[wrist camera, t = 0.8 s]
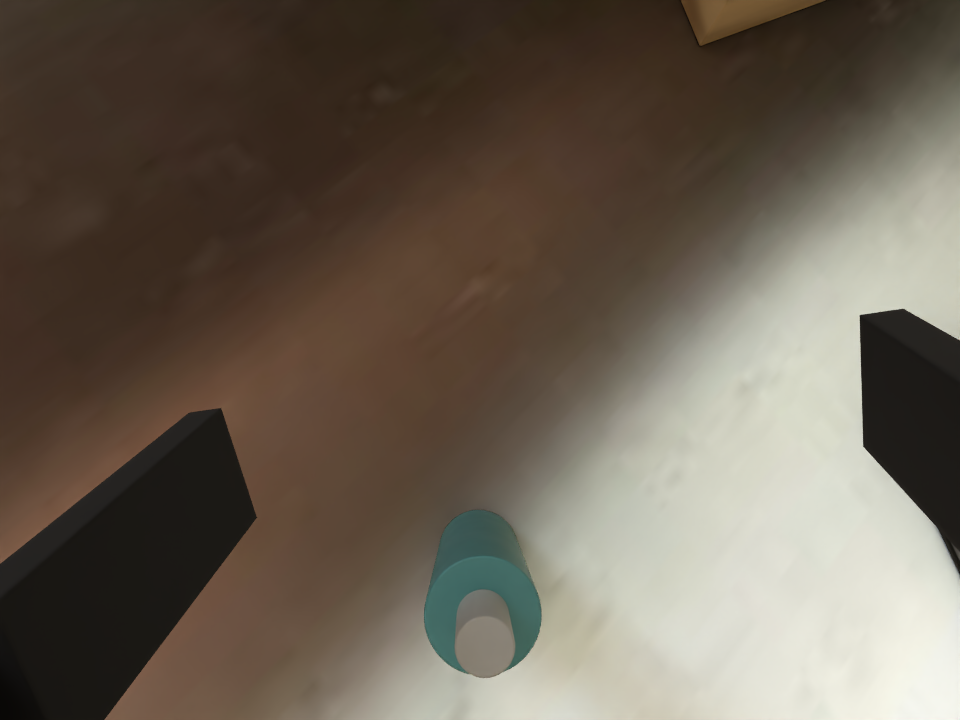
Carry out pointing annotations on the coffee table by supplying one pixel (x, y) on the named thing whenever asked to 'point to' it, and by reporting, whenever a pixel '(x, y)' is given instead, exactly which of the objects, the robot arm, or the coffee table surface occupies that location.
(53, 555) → the robot arm
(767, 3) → the holder
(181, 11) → the coffee table surface
